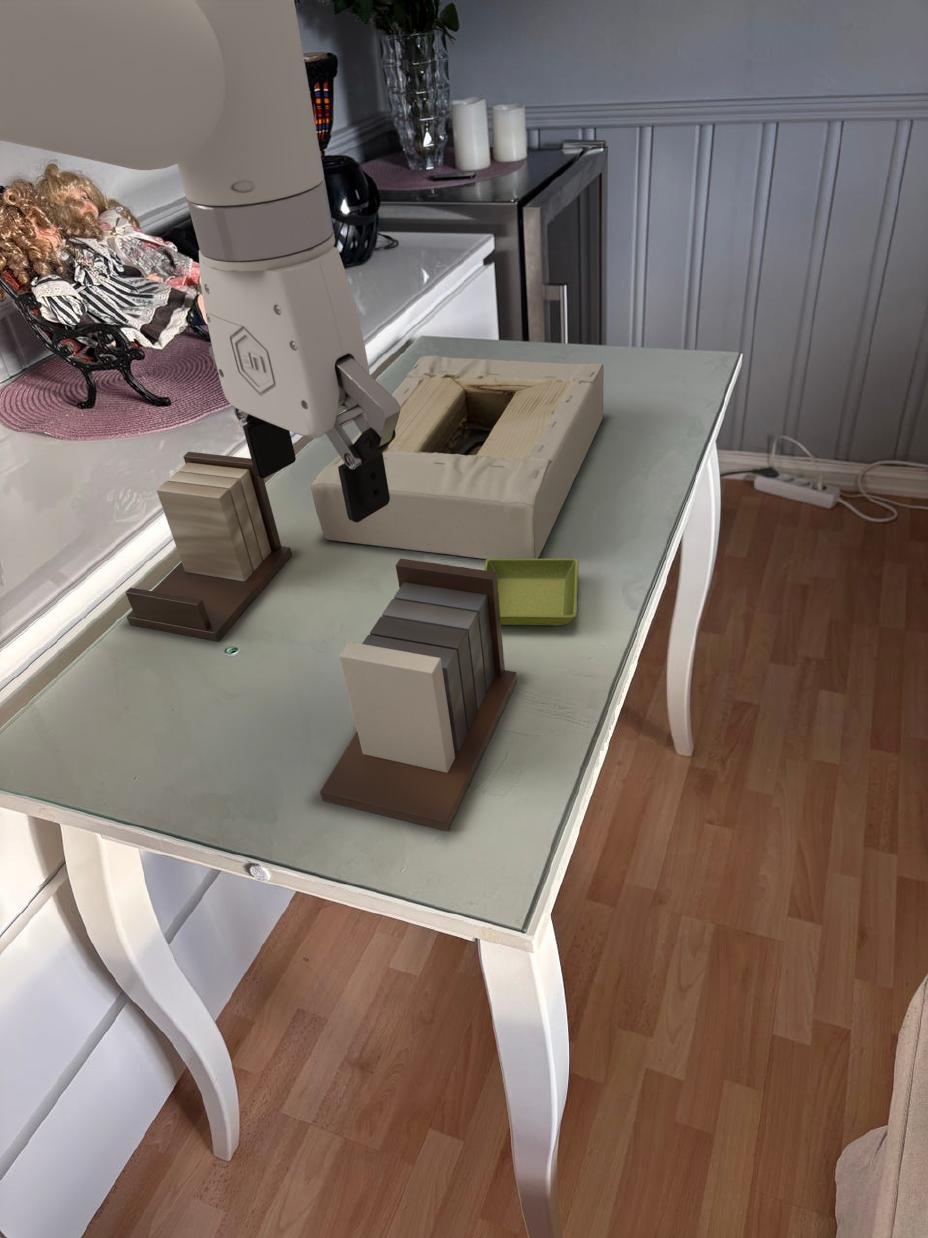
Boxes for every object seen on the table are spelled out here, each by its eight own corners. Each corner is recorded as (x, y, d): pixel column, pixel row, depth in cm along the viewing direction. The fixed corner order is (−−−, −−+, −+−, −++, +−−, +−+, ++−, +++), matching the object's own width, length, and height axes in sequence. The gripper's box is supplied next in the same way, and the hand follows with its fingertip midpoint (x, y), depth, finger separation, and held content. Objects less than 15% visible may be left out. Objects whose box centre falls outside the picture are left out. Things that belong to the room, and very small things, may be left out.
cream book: (447, 773, 67) (432, 673, 60) (362, 754, 69) (338, 655, 63) (455, 757, 68) (441, 657, 62) (371, 739, 70) (349, 641, 64)
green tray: (579, 575, 86) (579, 557, 84) (576, 635, 79) (576, 616, 78) (487, 576, 87) (485, 558, 86) (477, 634, 80) (475, 616, 79)
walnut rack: (447, 831, 64) (429, 721, 57) (322, 800, 67) (290, 692, 60) (517, 680, 75) (509, 573, 68) (407, 660, 78) (388, 556, 72)
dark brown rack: (218, 641, 83) (184, 541, 76) (129, 624, 86) (88, 527, 79) (292, 555, 93) (267, 459, 86) (209, 542, 96) (180, 450, 89)
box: (425, 406, 117) (320, 543, 94) (419, 348, 112) (306, 477, 89) (604, 419, 110) (539, 570, 87) (606, 358, 106) (537, 501, 82)
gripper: (124, 222, 53) (202, 476, 64) (310, 267, 44) (366, 559, 54) (228, 189, 57) (285, 434, 68) (420, 224, 48) (452, 504, 58)
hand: (321, 489), depth 61 cm, fingers open, 9 cm apart
